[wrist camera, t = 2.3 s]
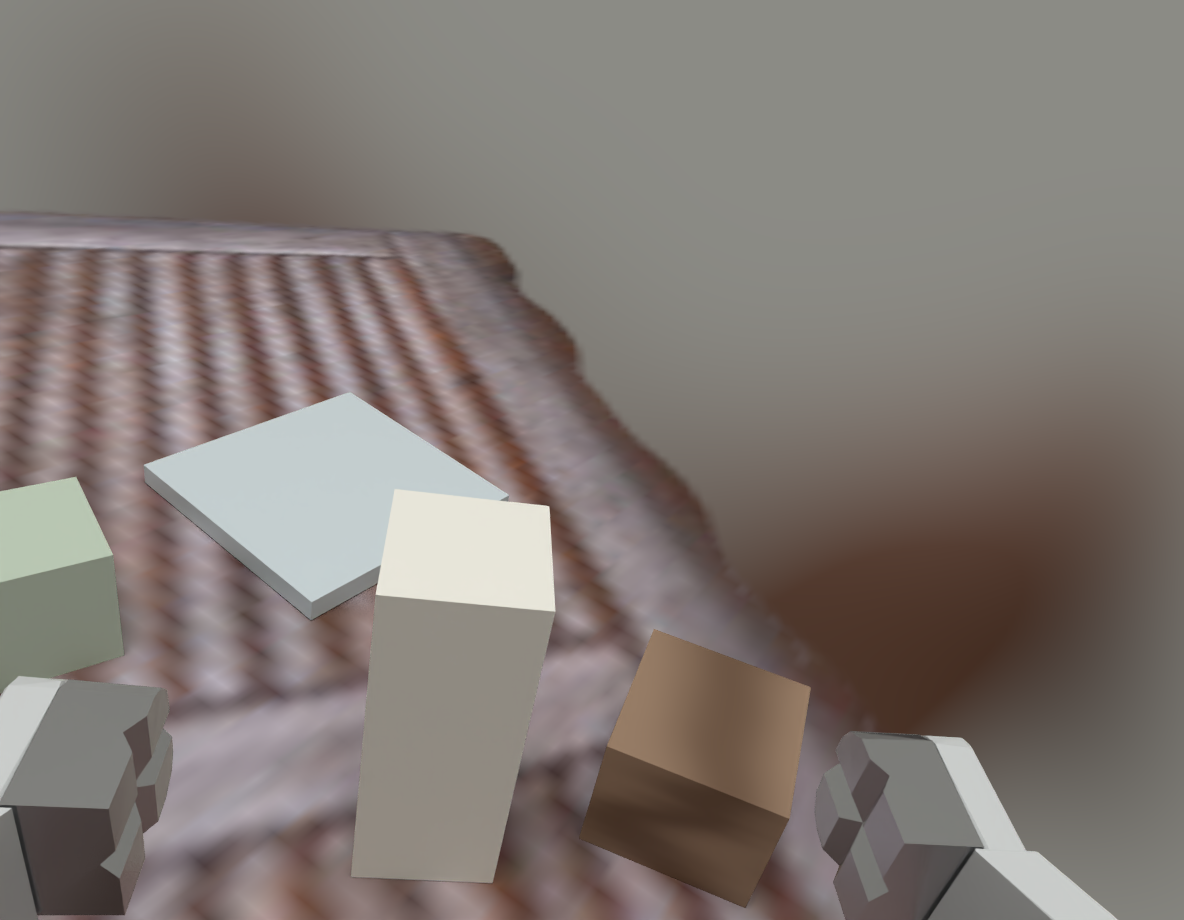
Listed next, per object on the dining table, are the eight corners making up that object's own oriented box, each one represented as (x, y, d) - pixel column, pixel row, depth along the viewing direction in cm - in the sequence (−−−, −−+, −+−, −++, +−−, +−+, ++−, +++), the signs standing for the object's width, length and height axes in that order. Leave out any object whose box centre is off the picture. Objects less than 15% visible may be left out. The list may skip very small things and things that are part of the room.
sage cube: (-58, 613, 35) (-84, 507, 32) (88, 576, 38) (76, 477, 35) (-33, 704, 32) (-60, 596, 29) (124, 656, 35) (112, 555, 32)
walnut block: (578, 840, 32) (606, 746, 29) (625, 719, 37) (654, 629, 34) (743, 910, 31) (789, 818, 28) (769, 775, 36) (810, 687, 33)
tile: (145, 482, 43) (143, 464, 43) (349, 407, 52) (349, 392, 51) (310, 620, 38) (311, 602, 37) (506, 511, 47) (509, 495, 46)
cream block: (350, 877, 29) (375, 594, 23) (369, 759, 33) (394, 488, 27) (492, 883, 30) (555, 611, 24) (494, 767, 34) (549, 506, 27)
